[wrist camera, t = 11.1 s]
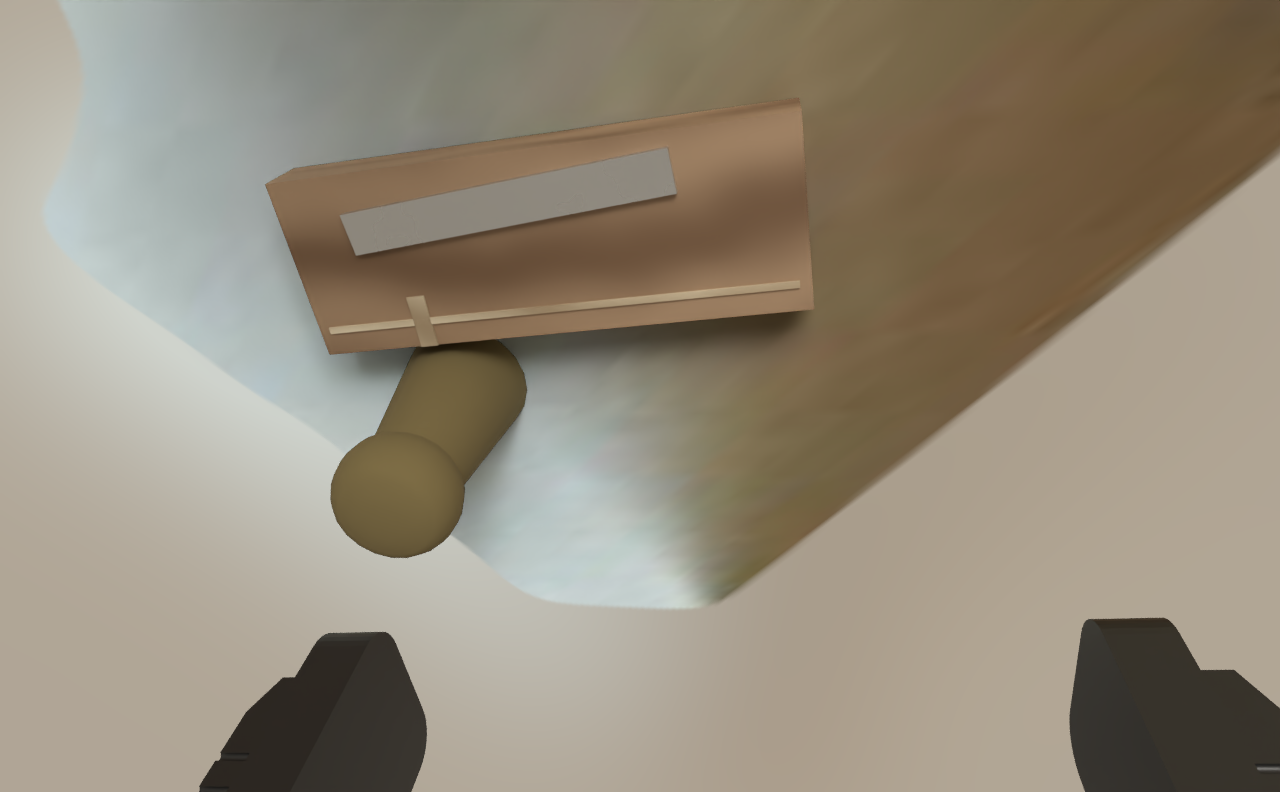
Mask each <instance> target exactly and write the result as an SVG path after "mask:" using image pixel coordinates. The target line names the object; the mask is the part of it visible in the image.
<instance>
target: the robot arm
mask: <svg viewBox="0 0 1280 792" xmlns="http://www.w3.org/2000/svg"><path fill="white" fill-rule="evenodd" d="M1070 736H1071V743H1072V749H1073V754H1074V758H1075V763H1076V766H1077V769H1078V773H1079V776H1080V779H1081V781H1082V784H1083V787H1084V790H1085V792H1280V708H1279V707H1278V706H1276V705H1275V704H1274V703H1273V702H1272V701H1270V700H1269V699H1268V698H1267V697H1266V696H1264V695H1263V694H1262V693H1261V692H1260V691H1258V690H1257V689H1256V688H1255V687H1254V686H1252V685H1251V684H1250V683H1249V682H1248V681H1247V680H1245V679H1244V678H1243V677H1242V676H1241V675H1239V674H1238V673H1237V672H1236V671H1235V670H1200V668H1199V666H1198V665H1197V663H1196V661H1195V659H1194V658H1193V656H1192V654H1191V653H1190V651H1189V649H1188V647H1187V646H1186V644H1185V642H1184V640H1183V639H1182V637H1181V635H1180V633H1179V632H1178V630H1177V629H1176V627H1175V626H1174V625H1173V624H1172V623H1171V622H1170V621H1169V620H1168V619H1165V618H1130V619H1088V620H1086V622H1085V623H1084V625H1083V628H1082V632H1081V639H1080V646H1079V653H1078V660H1077V666H1076V674H1075V681H1074V687H1073V694H1072V701H1071V708H1070ZM426 737H427V728H426V719H425V715H424V712H423V709H422V706H421V704H420V701H419V699H418V696H417V694H416V692H415V689H414V687H413V685H412V682H411V680H410V677H409V674H408V672H407V670H406V667H405V665H404V663H403V660H402V657H401V655H400V653H399V650H398V648H397V645H396V643H395V641H394V639H393V638H392V637H391V635H389V634H388V633H386V632H362V633H361V632H360V633H328V634H325V635H324V636H322V637H321V638H320V639H319V640H318V641H317V642H316V644H315V645H314V647H313V648H312V650H311V652H310V653H309V655H308V656H307V658H306V660H305V661H304V663H303V665H302V667H301V668H300V670H299V671H298V673H297V675H296V677H294V678H293V677H292V678H291V677H290V678H282V679H281V680H280V681H279V682H278V683H277V684H276V685H275V686H273V687H272V688H271V689H270V690H269V691H268V692H267V693H266V694H265V695H264V696H263V697H262V698H261V699H260V700H259V701H258V702H257V703H255V704H254V705H253V706H252V707H251V708H250V709H249V710H248V711H247V712H246V713H245V715H244V716H243V718H242V719H241V721H240V723H239V724H238V726H237V727H236V729H235V731H234V732H233V734H232V735H231V737H230V738H229V740H228V742H227V743H226V745H225V746H224V748H223V749H222V751H221V758H220V760H219V761H215V762H214V764H213V765H212V767H211V769H210V770H209V772H208V773H207V775H206V776H205V778H204V779H203V781H202V783H201V785H200V786H199V787H200V791H199V792H411V791H412V789H413V786H414V783H415V781H416V778H417V776H418V773H419V771H420V768H421V765H422V762H423V758H424V754H425V749H426Z"/></svg>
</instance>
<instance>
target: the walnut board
mask: <svg viewBox="0 0 1280 792" xmlns="http://www.w3.org/2000/svg"><path fill="white" fill-rule="evenodd" d="M665 146H668V149H669V153H670V158H671V163H672V168H673V172H674V177H675V182H676V187H677V191H678V192H677V194H673V195H668V196H663V197H657V198H652V199H647V200H642V201H637V202H632V203H626V204H621V205H616V206H611V207H606V208H601V209H595V210H590V211H585V212H580V213H575V214H569V215H564V216H559V217H554V218H549V219H544V220H538V221H533V222H528V223H523V224H518V225H513V226H507V227H502V228H497V229H492V230H487V231H482V232H476V233H471V234H466V235H461V236H456V237H450V238H445V239H440V240H435V241H430V242H425V243H419V244H414V245H409V246H404V247H399V248H394V249H388V250H383V251H378V252H373V253H368V254H363V255H357V256H356V254H355V252H354V249H353V247H352V245H351V242H350V240H349V237H348V235H347V232H346V230H345V228H344V225H343V223H342V220H341V218H340V215H341V214H342V213H345V212H350V211H355V210H360V209H365V208H370V207H375V206H379V205H384V204H389V203H394V202H399V201H404V200H408V199H413V198H418V197H423V196H428V195H433V194H438V193H442V192H447V191H452V190H457V189H462V188H467V187H471V186H476V185H481V184H486V183H491V182H496V181H500V180H505V179H510V178H515V177H520V176H525V175H530V174H534V173H539V172H544V171H549V170H554V169H559V168H563V167H568V166H573V165H578V164H583V163H588V162H592V161H597V160H602V159H607V158H612V157H617V156H622V155H626V154H631V153H636V152H641V151H646V150H651V149H655V148H660V147H665ZM265 185H266V188H267V191H268V193H269V196H270V199H271V201H272V204H273V207H274V209H275V212H276V214H277V217H278V220H279V222H280V225H281V228H282V230H283V233H284V236H285V238H286V241H287V243H288V246H289V249H290V251H291V254H292V257H293V259H294V262H295V265H296V267H297V270H298V272H299V275H300V278H301V280H302V283H303V286H304V288H305V291H306V294H307V296H308V299H309V301H310V304H311V307H312V309H313V312H314V315H315V317H316V320H317V323H318V325H319V328H320V331H321V333H322V336H323V338H324V341H325V344H326V346H327V349H328V352H329V354H330V355H331V354H342V353H353V352H363V351H374V350H385V349H395V348H406V347H417V346H421V347H427V346H437V345H439V344H449V343H459V342H470V341H481V340H492V339H502V338H513V337H524V336H534V335H545V334H556V333H566V332H577V331H588V330H598V329H609V328H620V327H630V326H641V325H652V324H662V323H673V322H684V321H694V320H705V319H716V318H727V317H737V316H748V315H759V314H769V313H780V312H791V311H801V310H812V309H814V300H813V284H812V268H811V252H810V236H809V220H808V204H807V188H806V172H805V156H804V140H803V124H802V110H801V106H800V101H799V98H794V99H787V100H779V101H772V102H765V103H758V104H751V105H744V106H736V107H729V108H722V109H715V110H708V111H701V112H694V113H686V114H679V115H672V116H665V117H658V118H651V119H643V120H636V121H629V122H622V123H615V124H608V125H600V126H593V127H586V128H579V129H572V130H565V131H558V132H550V133H543V134H536V135H529V136H522V137H515V138H507V139H500V140H493V141H486V142H479V143H472V144H464V145H457V146H450V147H443V148H436V149H429V150H422V151H414V152H407V153H400V154H393V155H386V156H379V157H371V158H364V159H357V160H350V161H343V162H336V163H328V164H321V165H314V166H307V167H300V168H293V169H292V170H290V171H288V172H286V173H285V174H283V175H281V176H279V177H277V178H276V179H274V180H272V181H270V182H269V183H267V184H265Z"/></svg>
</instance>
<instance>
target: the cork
mask: <svg viewBox="0 0 1280 792" xmlns="http://www.w3.org/2000/svg"><path fill="white" fill-rule="evenodd" d="M526 393H527V387H526V382H525V376H524V372H523V370H522V369H521V367H520V365H519V363H518V361H517V359H516V358H515V356H514V355H513V354H512V353H511V352H510V351H509V350H508V349H507V348H506V347H505V346H504V345H503V344H502V343H500V342H499V341H497V340H495V339H492V340H481V341H470V342H459V343H449V344H439V345H437V346H427V347H421V346H417V347H416V348H415V350H414V352H413V354H412V356H411V358H410V360H409V362H408V364H407V367H406V369H405V371H404V373H403V375H402V378H401V380H400V382H399V384H398V386H397V388H396V391H395V393H394V395H393V397H392V399H391V401H390V404H389V406H388V408H387V410H386V412H385V415H384V417H383V419H382V421H381V423H380V425H379V428H378V430H377V432H376V434H375V435H373V436H370V437H368V438H366V439H365V440H363V441H362V442H360V443H359V444H358V445H356V446H355V447H354V448H353V449H351V450H350V451H349V452H348V453H347V454H346V455H345V456H344V458H343V459H342V460H341V462H340V464H339V466H338V468H337V470H336V472H335V474H334V477H333V480H332V483H331V504H332V508H333V512H334V514H335V517H336V520H337V522H338V524H339V525H340V527H341V528H342V529H343V531H344V532H345V533H346V535H347V536H349V537H350V538H351V539H352V540H354V541H355V542H356V543H357V544H358V545H360V546H362V547H363V548H365V549H367V550H369V551H371V552H373V553H376V554H380V555H383V556H387V557H391V558H408V557H412V556H416V555H419V554H423V553H426V552H429V551H431V550H432V549H433V548H435V547H436V546H438V545H439V544H440V543H442V542H443V541H444V540H445V539H446V538H447V537H448V536H449V535H450V534H451V532H452V531H453V529H454V528H455V526H456V524H457V523H458V521H459V519H460V516H461V514H462V509H463V502H464V493H465V487H464V484H465V483H466V482H467V481H468V479H469V478H470V477H471V475H472V474H473V473H474V472H475V470H476V469H477V468H478V467H479V465H480V464H481V463H482V461H483V460H484V459H485V458H486V456H487V455H488V454H489V453H490V451H491V450H492V449H493V447H494V446H495V445H496V444H497V442H498V441H499V440H500V439H501V437H502V436H503V435H504V433H505V432H506V431H507V430H508V428H509V427H510V426H511V425H512V423H513V422H514V421H515V419H516V418H517V416H518V415H519V413H520V412H521V410H522V408H523V407H524V404H525V398H526Z"/></svg>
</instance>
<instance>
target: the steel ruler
mask: <svg viewBox="0 0 1280 792" xmlns="http://www.w3.org/2000/svg"><path fill="white" fill-rule="evenodd" d="M677 192H678V191H677V187H676V182H675V177H674V172H673V168H672V163H671V158H670V153H669V149H668V146H665V147H660V148H655V149H651V150H646V151H641V152H636V153H631V154H626V155H622V156H617V157H612V158H607V159H602V160H597V161H592V162H588V163H583V164H578V165H573V166H568V167H563V168H559V169H554V170H549V171H544V172H539V173H534V174H530V175H525V176H520V177H515V178H510V179H505V180H500V181H496V182H491V183H486V184H481V185H476V186H471V187H467V188H462V189H457V190H452V191H447V192H442V193H438V194H433V195H428V196H423V197H418V198H413V199H408V200H404V201H399V202H394V203H389V204H384V205H379V206H375V207H370V208H365V209H360V210H355V211H350V212H345V213H342V214H341V215H340V218H341V220H342V223H343V225H344V228H345V230H346V232H347V235H348V237H349V240H350V242H351V245H352V247H353V249H354V252H355V254H356V256H357V255H363V254H368V253H373V252H378V251H383V250H388V249H394V248H399V247H404V246H409V245H414V244H419V243H425V242H430V241H435V240H440V239H445V238H450V237H456V236H461V235H466V234H471V233H476V232H482V231H487V230H492V229H497V228H502V227H507V226H513V225H518V224H523V223H528V222H533V221H538V220H544V219H549V218H554V217H559V216H564V215H569V214H575V213H580V212H585V211H590V210H595V209H601V208H606V207H611V206H616V205H621V204H626V203H632V202H637V201H642V200H647V199H652V198H657V197H663V196H668V195H673V194H677Z"/></svg>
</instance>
